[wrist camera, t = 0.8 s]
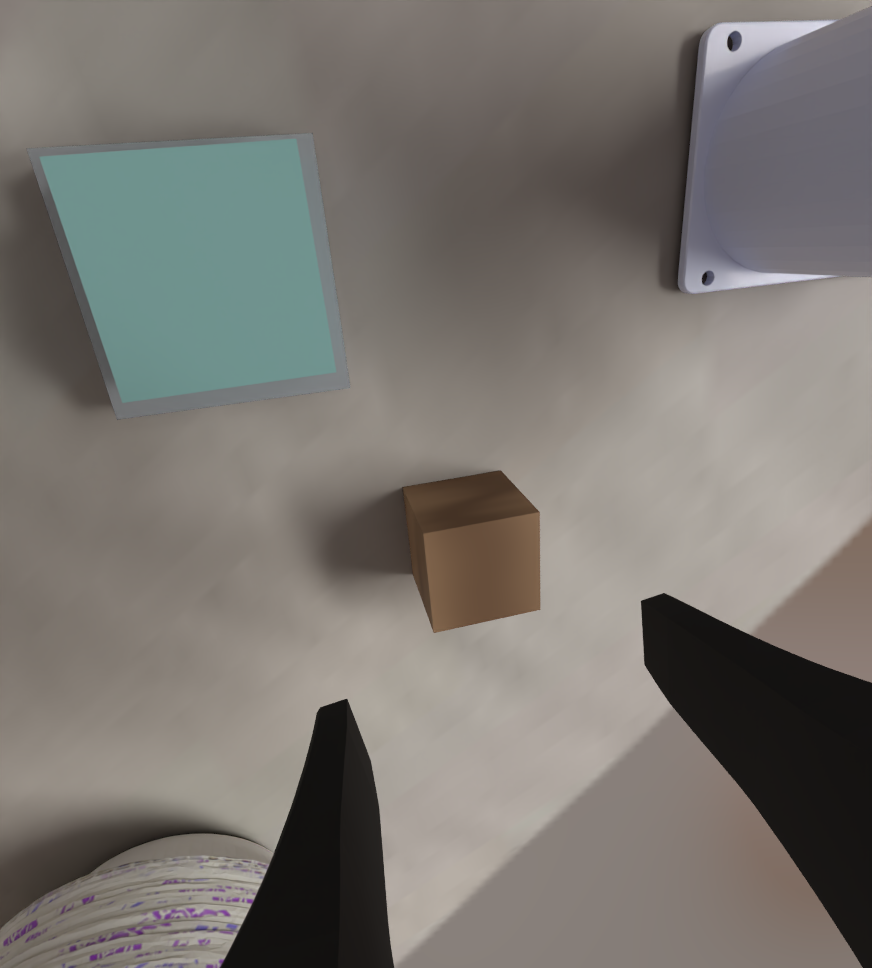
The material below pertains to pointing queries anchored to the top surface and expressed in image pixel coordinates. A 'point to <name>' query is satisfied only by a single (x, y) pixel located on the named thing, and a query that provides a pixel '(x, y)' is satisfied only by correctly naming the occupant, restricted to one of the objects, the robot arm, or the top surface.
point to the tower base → (227, 394)
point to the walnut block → (473, 549)
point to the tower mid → (196, 264)
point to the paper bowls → (144, 908)
